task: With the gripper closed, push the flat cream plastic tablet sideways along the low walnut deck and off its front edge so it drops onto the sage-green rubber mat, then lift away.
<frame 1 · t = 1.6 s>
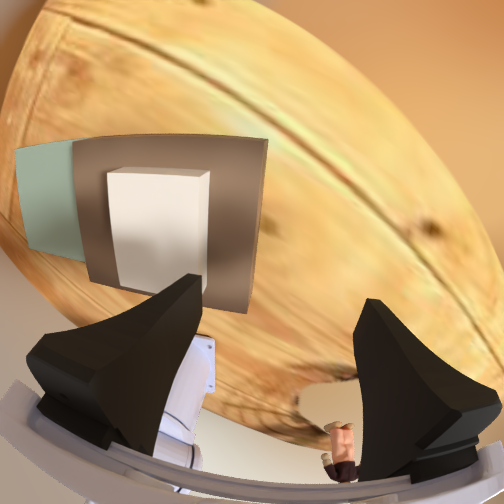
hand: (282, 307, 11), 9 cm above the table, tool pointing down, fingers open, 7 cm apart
sage mat: (52, 201, 21), on the table
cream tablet: (158, 233, 17), point 4 cm above the table, touching walnut deck
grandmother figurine: (342, 425, 31), on the table
walnut deck: (169, 211, 20), on the table
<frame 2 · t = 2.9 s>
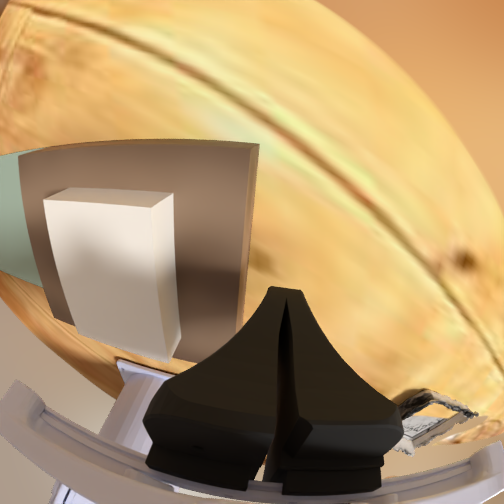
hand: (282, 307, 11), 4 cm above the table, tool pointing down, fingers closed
sage mat: (15, 221, 16), on the table
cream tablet: (112, 276, 12), point 4 cm above the table, touching walnut deck
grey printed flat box: (422, 412, 21), on the table
walnut deck: (134, 240, 15), on the table
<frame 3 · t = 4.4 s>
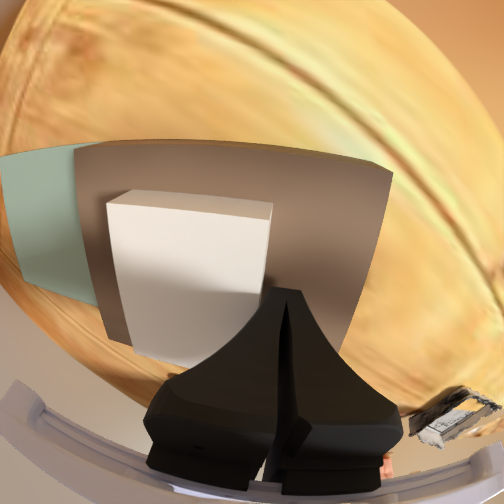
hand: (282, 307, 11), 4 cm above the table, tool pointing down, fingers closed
sage mat: (49, 228, 16), on the table
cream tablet: (189, 292, 11), point 4 cm above the table, touching gripper
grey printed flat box: (454, 407, 21), on the table
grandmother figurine: (381, 454, 26), on the table
walnut deck: (221, 253, 15), on the table
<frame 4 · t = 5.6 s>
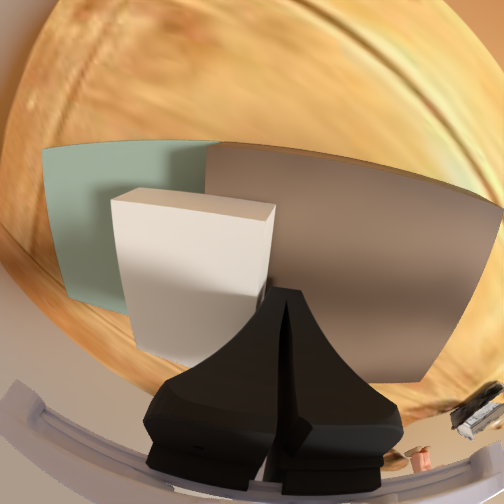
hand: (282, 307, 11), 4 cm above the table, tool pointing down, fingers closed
sage mat: (118, 238, 16), on the table
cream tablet: (191, 291, 11), point 4 cm above the table, tilted 6°, touching gripper, walnut deck
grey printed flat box: (485, 401, 20), on the table
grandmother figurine: (419, 449, 25), on the table
walnut deck: (345, 270, 14), on the table
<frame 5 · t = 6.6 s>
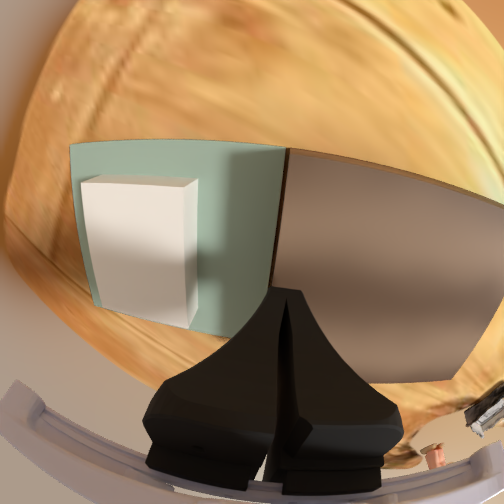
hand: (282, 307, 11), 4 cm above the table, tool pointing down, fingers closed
sage mat: (161, 244, 15), on the table
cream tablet: (140, 251, 14), point 1 cm above the table, tilted 180°, touching sage mat
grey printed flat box: (496, 399, 20), on the table
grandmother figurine: (433, 446, 25), on the table
walnut deck: (393, 277, 14), on the table
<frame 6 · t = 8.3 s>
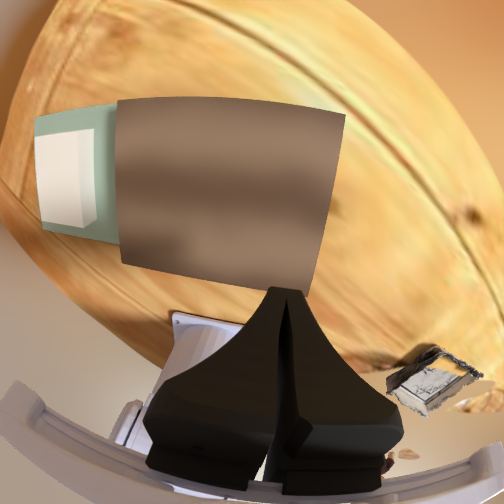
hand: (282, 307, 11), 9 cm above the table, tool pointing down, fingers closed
sage mat: (77, 174, 20), on the table
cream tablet: (63, 177, 19), point 1 cm above the table, tilted 180°, touching sage mat
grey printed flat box: (433, 372, 25), on the table
walnut deck: (222, 185, 19), on the table
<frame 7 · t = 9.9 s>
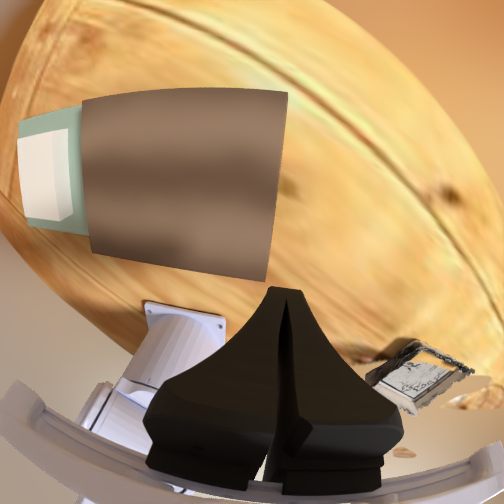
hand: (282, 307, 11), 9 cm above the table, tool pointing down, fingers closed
sage mat: (55, 172, 20), on the table
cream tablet: (42, 175, 19), point 1 cm above the table, tilted 180°, touching sage mat
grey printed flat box: (418, 368, 25), on the table
walnut deck: (181, 174, 19), on the table
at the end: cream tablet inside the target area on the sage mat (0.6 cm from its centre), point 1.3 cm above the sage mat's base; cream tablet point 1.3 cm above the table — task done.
